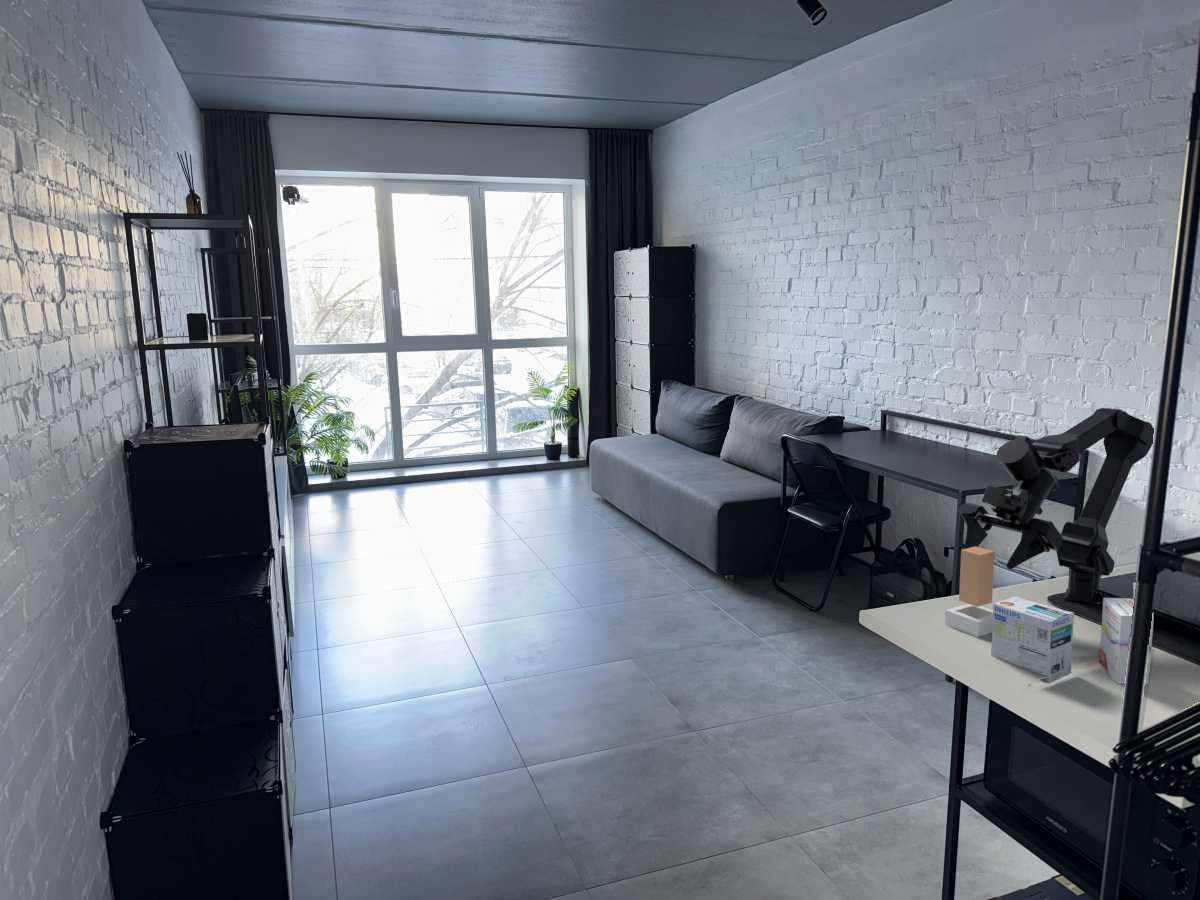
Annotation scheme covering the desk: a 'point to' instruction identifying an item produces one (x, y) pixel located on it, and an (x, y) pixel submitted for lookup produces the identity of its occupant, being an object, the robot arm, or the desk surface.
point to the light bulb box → (1033, 636)
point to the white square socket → (970, 619)
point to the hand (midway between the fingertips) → (986, 561)
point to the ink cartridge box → (1118, 636)
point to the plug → (976, 576)
